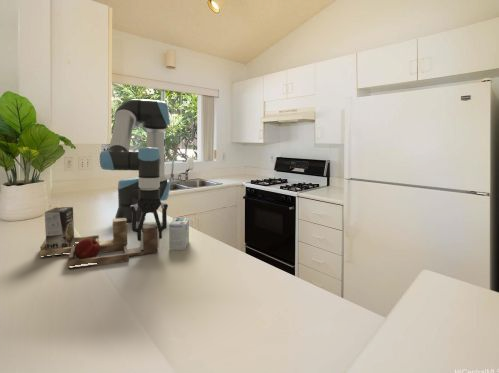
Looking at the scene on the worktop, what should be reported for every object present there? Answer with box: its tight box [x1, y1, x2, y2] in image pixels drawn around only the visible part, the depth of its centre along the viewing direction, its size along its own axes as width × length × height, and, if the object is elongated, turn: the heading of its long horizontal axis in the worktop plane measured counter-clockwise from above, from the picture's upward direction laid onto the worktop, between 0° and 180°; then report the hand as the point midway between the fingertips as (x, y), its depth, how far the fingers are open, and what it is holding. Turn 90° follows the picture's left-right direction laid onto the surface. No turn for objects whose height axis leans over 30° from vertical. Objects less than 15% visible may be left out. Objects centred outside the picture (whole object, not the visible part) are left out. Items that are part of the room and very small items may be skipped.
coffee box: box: [44, 206, 76, 250], centre depth 106 cm, size 9×6×16 cm
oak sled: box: [39, 218, 128, 257], centre depth 110 cm, size 28×13×10 cm, turn 118°
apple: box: [74, 238, 100, 259], centre depth 98 cm, size 7×8×8 cm
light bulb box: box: [168, 217, 190, 251], centre depth 116 cm, size 11×7×11 cm, turn 5°
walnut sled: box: [68, 223, 159, 267], centre depth 102 cm, size 28×13×10 cm, turn 118°
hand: (149, 247), depth 108 cm, fingers closed on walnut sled, 5 cm apart
